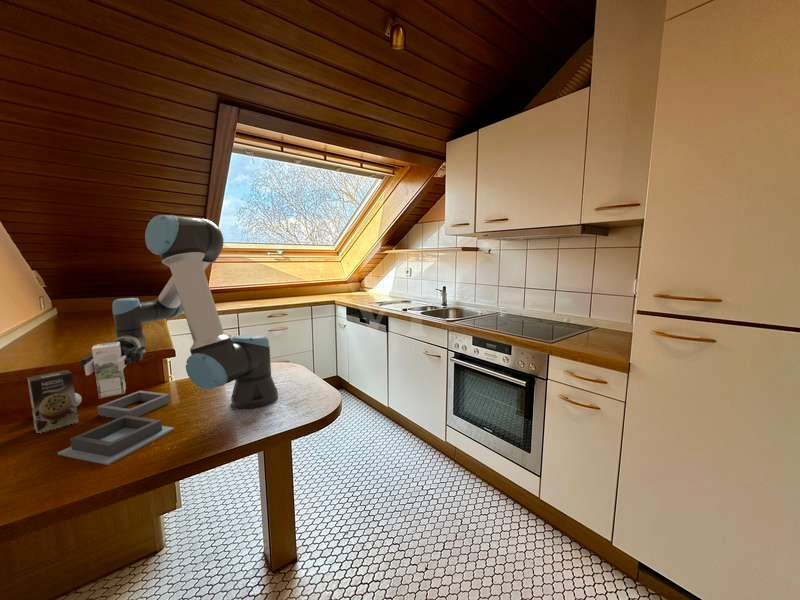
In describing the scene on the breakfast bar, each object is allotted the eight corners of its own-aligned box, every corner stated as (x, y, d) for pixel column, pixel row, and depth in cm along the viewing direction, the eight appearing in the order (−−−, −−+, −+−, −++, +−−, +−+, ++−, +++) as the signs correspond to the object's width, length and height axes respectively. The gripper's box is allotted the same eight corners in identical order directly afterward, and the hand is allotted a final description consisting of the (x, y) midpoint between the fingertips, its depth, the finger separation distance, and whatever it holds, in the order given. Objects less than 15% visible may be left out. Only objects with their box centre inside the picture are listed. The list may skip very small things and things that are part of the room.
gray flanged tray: (174, 429, 102) (172, 417, 101) (107, 465, 85) (105, 451, 84) (129, 422, 107) (127, 411, 106) (57, 454, 90) (55, 441, 89)
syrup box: (126, 388, 103) (119, 340, 101) (124, 394, 98) (118, 344, 96) (101, 393, 100) (94, 343, 98) (98, 399, 95) (90, 348, 93)
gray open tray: (170, 402, 121) (169, 394, 121) (129, 420, 108) (128, 411, 108) (141, 398, 125) (140, 390, 125) (98, 415, 112) (96, 406, 112)
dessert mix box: (37, 434, 100) (29, 381, 98) (34, 428, 104) (25, 377, 102) (79, 422, 108) (72, 372, 106) (75, 417, 111) (67, 368, 109)
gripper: (160, 355, 118) (148, 375, 98) (87, 364, 110) (58, 388, 89) (158, 334, 118) (145, 349, 97) (84, 341, 109) (53, 360, 88)
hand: (103, 368), depth 93 cm, fingers closed on syrup box, 6 cm apart
